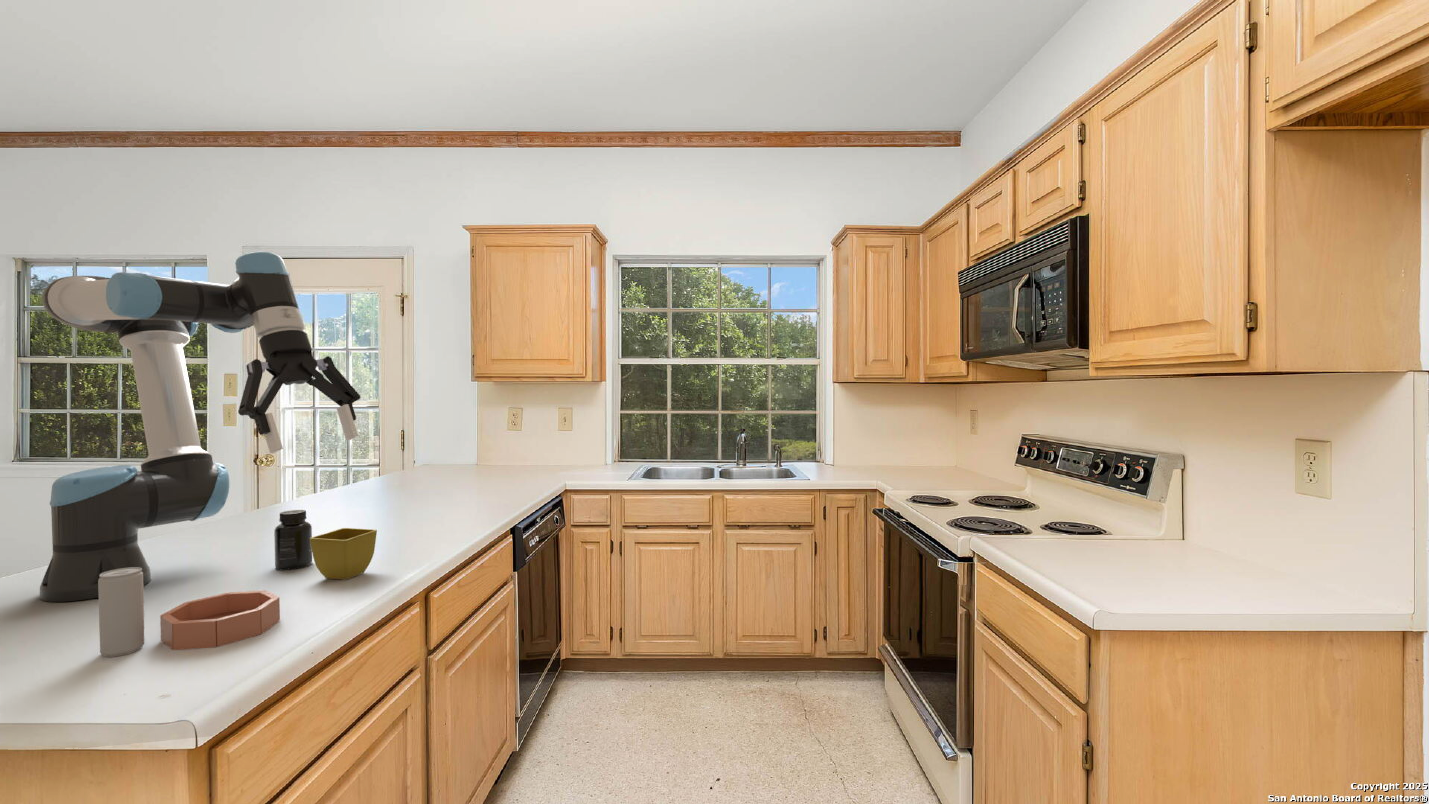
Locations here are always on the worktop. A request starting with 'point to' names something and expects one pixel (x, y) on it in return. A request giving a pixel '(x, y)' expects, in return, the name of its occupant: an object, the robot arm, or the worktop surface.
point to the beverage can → (121, 611)
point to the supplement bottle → (293, 540)
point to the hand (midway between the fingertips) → (316, 444)
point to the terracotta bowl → (219, 619)
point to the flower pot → (343, 552)
